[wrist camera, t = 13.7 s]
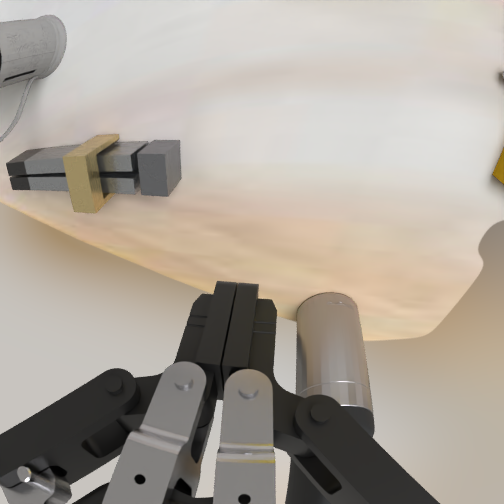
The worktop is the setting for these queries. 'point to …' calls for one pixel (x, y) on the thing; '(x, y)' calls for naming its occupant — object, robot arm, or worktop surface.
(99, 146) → the tan framed block
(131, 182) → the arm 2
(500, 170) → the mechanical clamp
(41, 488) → the robot arm
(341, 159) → the worktop surface
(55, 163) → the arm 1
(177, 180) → the plate
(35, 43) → the glass holder
